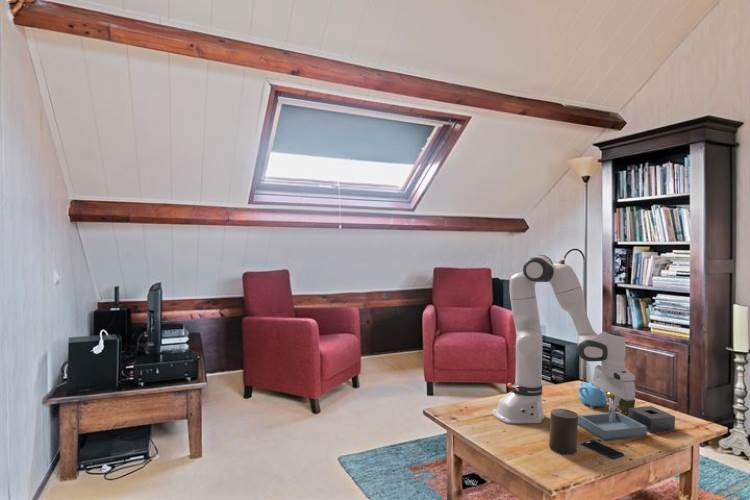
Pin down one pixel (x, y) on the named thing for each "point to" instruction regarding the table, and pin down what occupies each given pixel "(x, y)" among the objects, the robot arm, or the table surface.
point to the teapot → (592, 395)
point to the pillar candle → (563, 431)
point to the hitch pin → (611, 408)
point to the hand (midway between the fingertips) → (612, 403)
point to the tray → (612, 426)
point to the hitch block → (653, 419)
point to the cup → (626, 406)
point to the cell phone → (603, 449)
